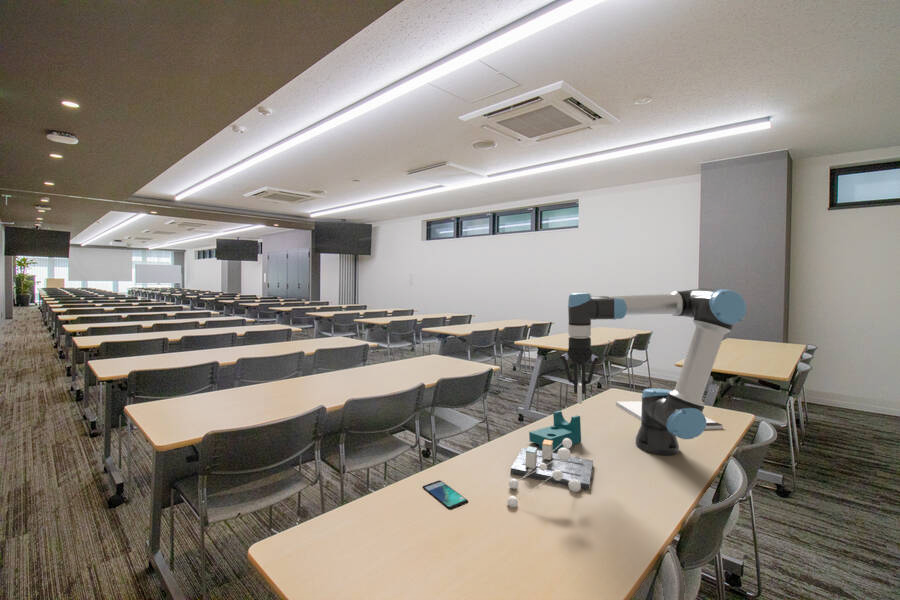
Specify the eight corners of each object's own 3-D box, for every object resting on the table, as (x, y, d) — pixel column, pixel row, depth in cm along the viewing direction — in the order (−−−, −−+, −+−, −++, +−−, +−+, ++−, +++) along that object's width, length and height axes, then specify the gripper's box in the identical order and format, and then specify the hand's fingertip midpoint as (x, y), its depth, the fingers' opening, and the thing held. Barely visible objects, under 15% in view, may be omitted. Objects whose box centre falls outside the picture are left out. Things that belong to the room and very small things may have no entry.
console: (592, 465, 139) (593, 460, 139) (589, 490, 123) (589, 484, 123) (522, 452, 149) (522, 447, 149) (510, 473, 133) (510, 467, 133)
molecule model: (589, 509, 117) (599, 461, 111) (507, 516, 114) (513, 468, 108) (570, 472, 130) (578, 428, 124) (496, 478, 127) (500, 433, 121)
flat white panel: (722, 424, 177) (658, 426, 173) (722, 430, 177) (657, 432, 173) (670, 400, 211) (615, 401, 208) (670, 405, 211) (615, 406, 208)
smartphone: (440, 479, 128) (469, 500, 115) (440, 481, 128) (469, 503, 115) (421, 486, 123) (449, 508, 111) (421, 488, 123) (449, 511, 111)
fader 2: (552, 455, 142) (552, 440, 141) (550, 460, 138) (551, 445, 138) (544, 453, 143) (544, 439, 143) (542, 458, 139) (542, 443, 139)
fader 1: (536, 463, 136) (537, 447, 135) (534, 468, 132) (534, 452, 132) (528, 461, 137) (528, 446, 136) (525, 466, 133) (525, 450, 133)
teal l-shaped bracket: (560, 435, 168) (559, 410, 168) (581, 442, 159) (580, 416, 159) (529, 444, 158) (528, 418, 158) (550, 452, 149) (549, 424, 149)
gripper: (599, 335, 141) (599, 400, 142) (561, 334, 145) (562, 397, 147) (599, 338, 134) (599, 407, 135) (559, 337, 138) (559, 403, 140)
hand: (579, 402), depth 141 cm, fingers closed
